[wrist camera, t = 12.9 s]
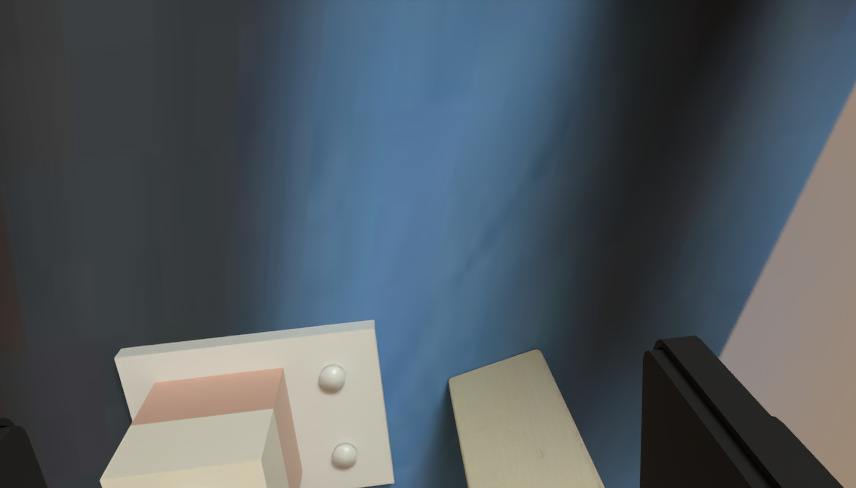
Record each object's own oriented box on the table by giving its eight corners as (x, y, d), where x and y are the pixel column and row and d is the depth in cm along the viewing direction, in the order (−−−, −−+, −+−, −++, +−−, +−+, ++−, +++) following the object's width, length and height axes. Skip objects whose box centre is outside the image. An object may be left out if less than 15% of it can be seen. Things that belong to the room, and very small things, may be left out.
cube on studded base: (374, 319, 42) (375, 412, 33) (393, 471, 47) (399, 592, 37) (121, 348, 42) (47, 451, 32) (164, 500, 46) (110, 631, 36)
